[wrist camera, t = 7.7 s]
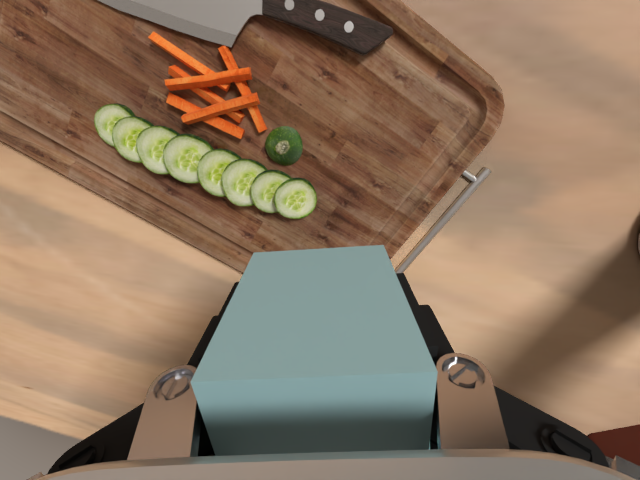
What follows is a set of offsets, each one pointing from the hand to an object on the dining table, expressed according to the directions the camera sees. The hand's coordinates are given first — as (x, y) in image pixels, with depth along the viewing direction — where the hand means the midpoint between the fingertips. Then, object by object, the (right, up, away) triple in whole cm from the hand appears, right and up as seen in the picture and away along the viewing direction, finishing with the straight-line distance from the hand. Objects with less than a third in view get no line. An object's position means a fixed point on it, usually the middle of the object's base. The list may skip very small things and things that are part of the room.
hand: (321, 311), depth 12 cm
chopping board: (-8, +14, +15) cm, 22 cm away
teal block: (0, 0, +1) cm, 1 cm away
